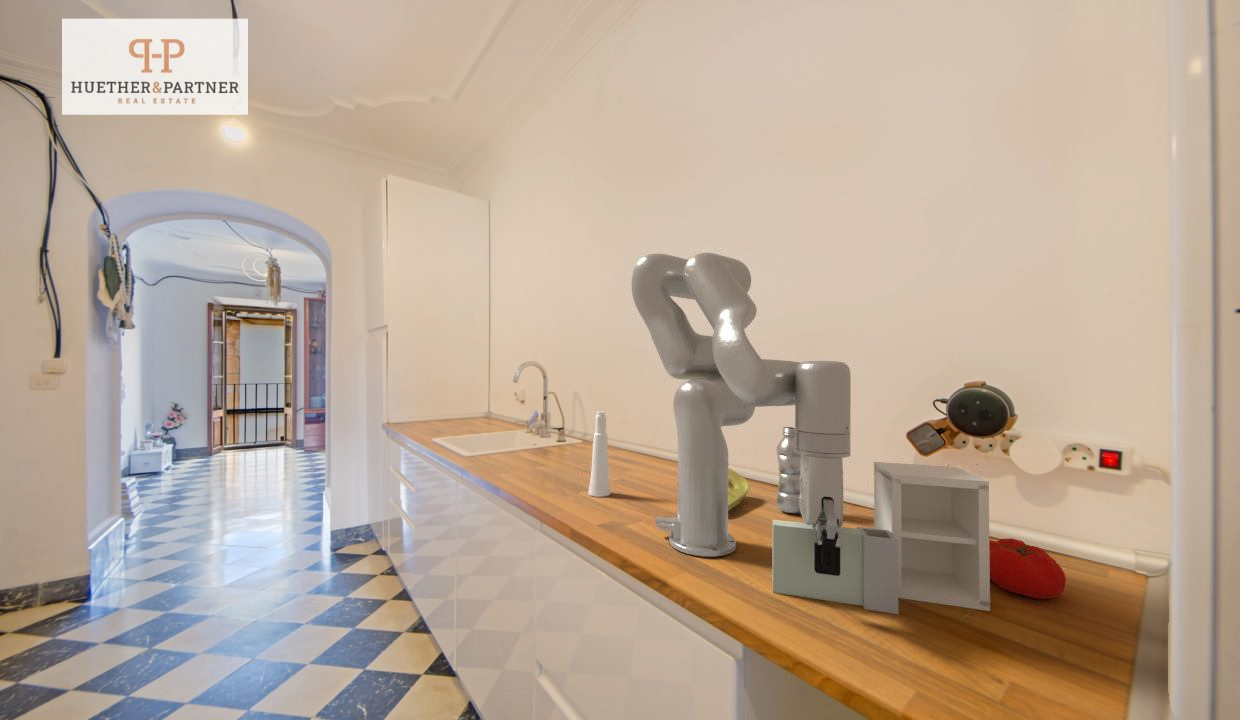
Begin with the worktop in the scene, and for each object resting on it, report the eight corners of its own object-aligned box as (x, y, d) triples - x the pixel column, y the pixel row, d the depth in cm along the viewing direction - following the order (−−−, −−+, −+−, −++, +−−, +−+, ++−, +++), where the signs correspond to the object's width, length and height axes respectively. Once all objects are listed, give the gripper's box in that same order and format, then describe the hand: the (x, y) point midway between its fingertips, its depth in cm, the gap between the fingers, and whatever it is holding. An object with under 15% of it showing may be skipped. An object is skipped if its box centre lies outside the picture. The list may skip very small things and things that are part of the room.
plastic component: (723, 508, 98) (687, 483, 104) (711, 534, 100) (676, 508, 106) (756, 485, 114) (723, 464, 119) (745, 508, 116) (713, 486, 121)
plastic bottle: (790, 518, 100) (790, 430, 100) (770, 509, 106) (770, 426, 107) (812, 515, 102) (812, 429, 103) (791, 506, 108) (791, 425, 109)
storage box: (889, 599, 64) (888, 530, 64) (898, 614, 60) (898, 540, 60) (772, 582, 69) (772, 517, 69) (773, 595, 65) (773, 526, 65)
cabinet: (873, 606, 62) (872, 478, 62) (851, 565, 75) (851, 460, 76) (1005, 626, 57) (1004, 488, 58) (957, 579, 71) (956, 467, 71)
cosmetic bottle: (583, 493, 117) (585, 411, 118) (601, 489, 121) (603, 410, 122) (597, 498, 113) (598, 413, 113) (615, 494, 117) (616, 412, 117)
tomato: (1003, 601, 64) (1002, 556, 64) (963, 569, 75) (963, 530, 75) (1084, 610, 62) (1083, 563, 62) (1031, 576, 73) (1030, 536, 73)
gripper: (790, 434, 75) (789, 535, 74) (801, 451, 58) (800, 581, 58) (838, 437, 72) (838, 541, 72) (864, 455, 56) (864, 591, 55)
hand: (821, 559), depth 65 cm, fingers open, 9 cm apart
